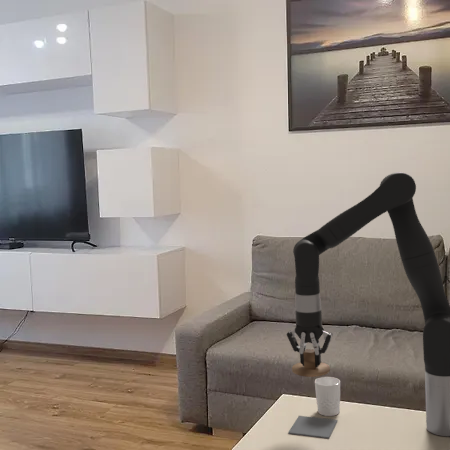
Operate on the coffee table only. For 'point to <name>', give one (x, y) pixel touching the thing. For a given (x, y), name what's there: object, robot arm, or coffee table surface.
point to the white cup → (328, 395)
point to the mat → (313, 427)
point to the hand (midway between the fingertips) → (310, 365)
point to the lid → (310, 366)
